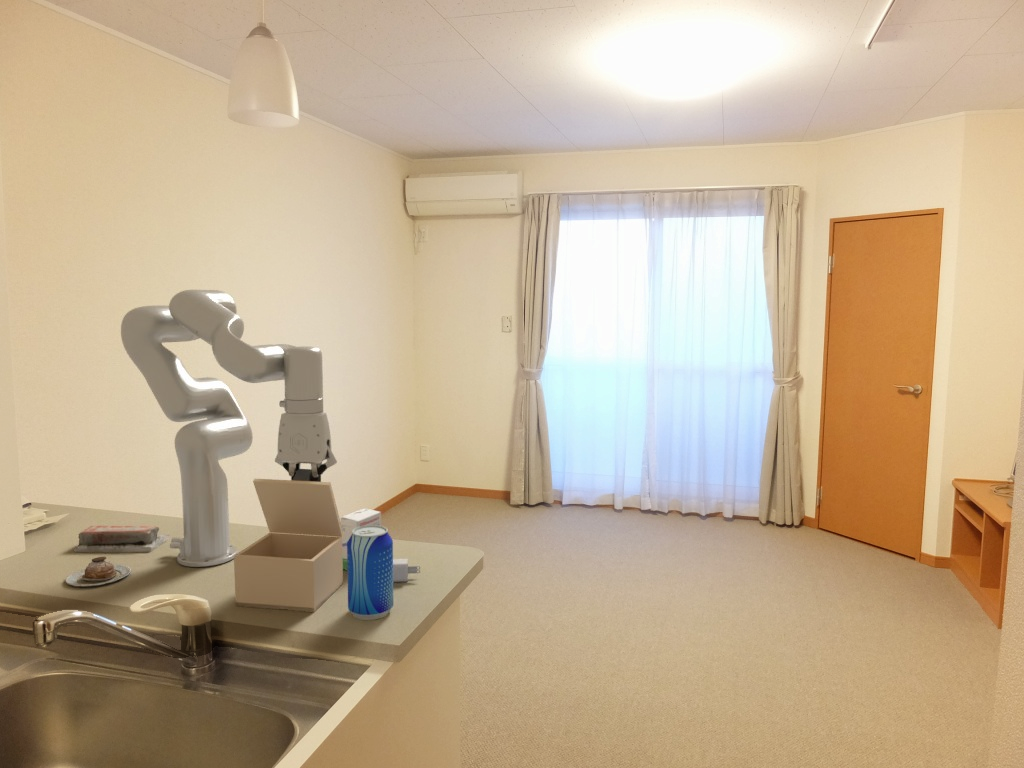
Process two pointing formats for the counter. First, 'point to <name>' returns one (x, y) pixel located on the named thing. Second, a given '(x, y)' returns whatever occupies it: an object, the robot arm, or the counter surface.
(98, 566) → the pastry
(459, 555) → the counter surface
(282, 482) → the tan labeled panel
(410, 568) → the usb wall charger
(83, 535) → the packaged product
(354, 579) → the beer can
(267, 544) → the carton
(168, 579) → the counter surface
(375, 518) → the ink box
